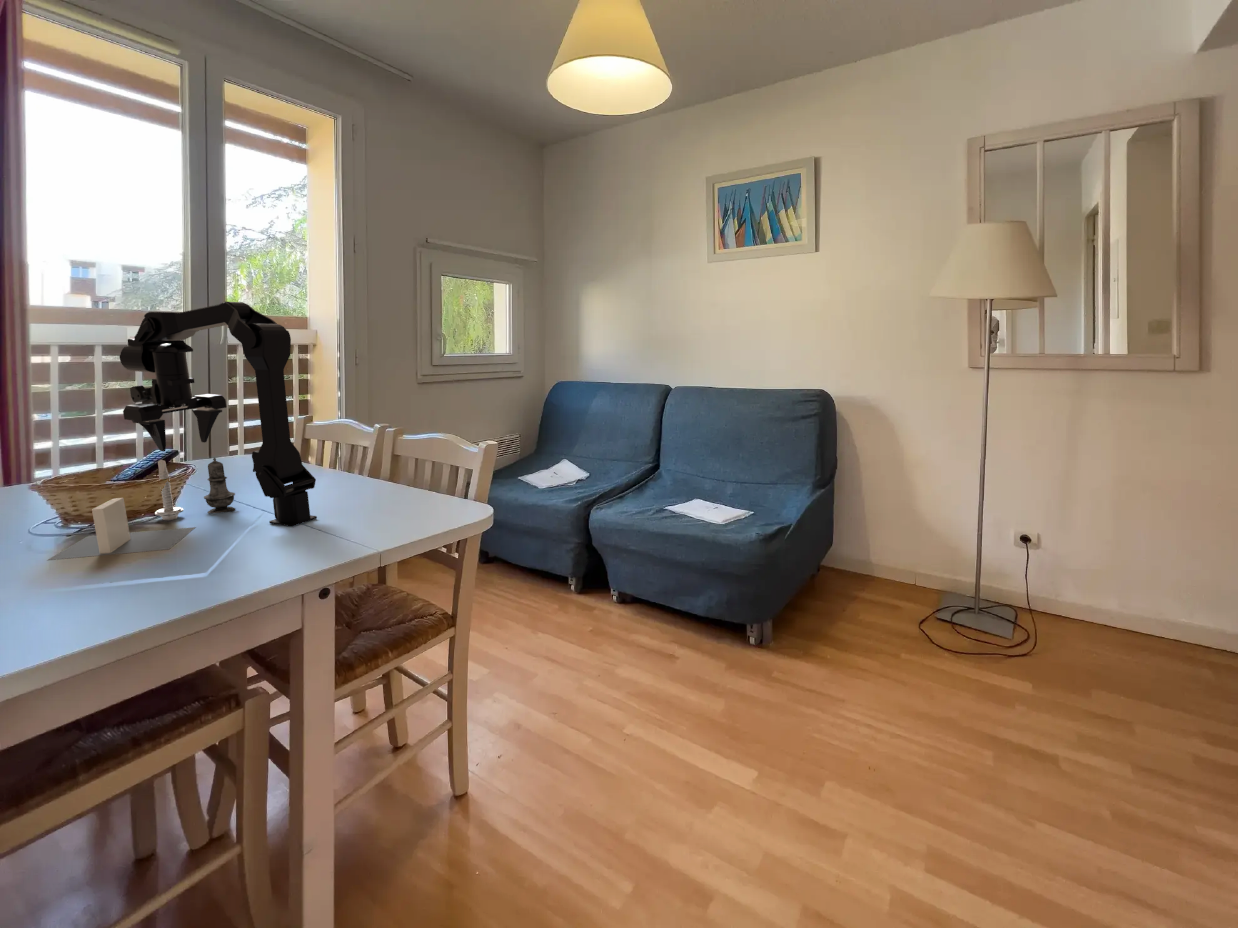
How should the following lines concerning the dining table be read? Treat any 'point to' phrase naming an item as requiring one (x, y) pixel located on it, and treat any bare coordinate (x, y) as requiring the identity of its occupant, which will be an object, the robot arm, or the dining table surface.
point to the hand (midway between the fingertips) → (183, 446)
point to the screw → (167, 496)
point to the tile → (111, 525)
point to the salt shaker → (218, 489)
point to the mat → (127, 543)
